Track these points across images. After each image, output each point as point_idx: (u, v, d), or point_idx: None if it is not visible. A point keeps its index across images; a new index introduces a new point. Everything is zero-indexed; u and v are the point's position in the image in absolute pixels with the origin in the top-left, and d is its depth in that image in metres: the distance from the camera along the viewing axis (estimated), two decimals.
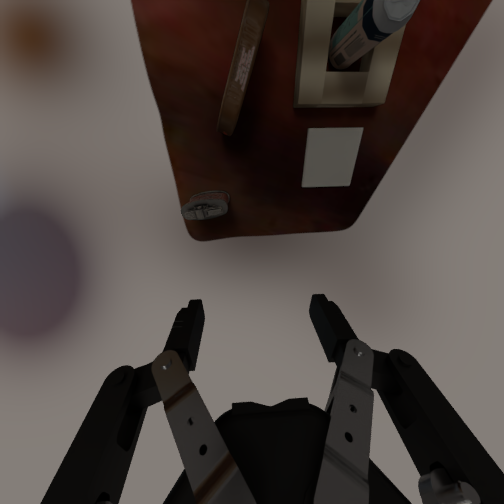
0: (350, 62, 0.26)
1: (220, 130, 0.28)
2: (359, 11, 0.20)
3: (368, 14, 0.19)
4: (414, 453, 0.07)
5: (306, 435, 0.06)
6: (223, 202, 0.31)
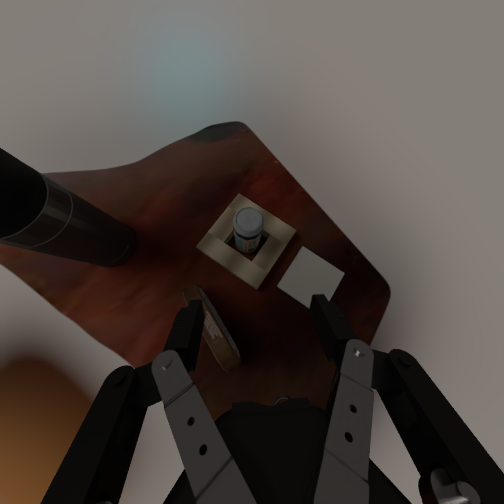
0: (257, 244, 0.35)
1: (231, 369, 0.28)
2: (238, 238, 0.30)
3: (244, 237, 0.28)
4: (414, 453, 0.07)
5: (306, 435, 0.06)
6: None
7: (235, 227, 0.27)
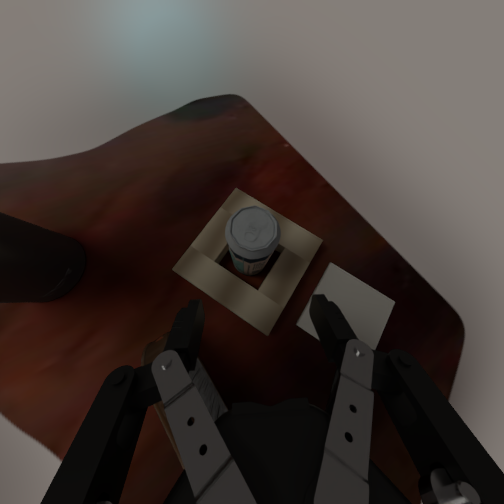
0: None
1: None
2: (236, 259, 0.18)
3: (246, 259, 0.16)
4: (414, 453, 0.07)
5: (306, 435, 0.06)
6: None
7: (230, 243, 0.15)
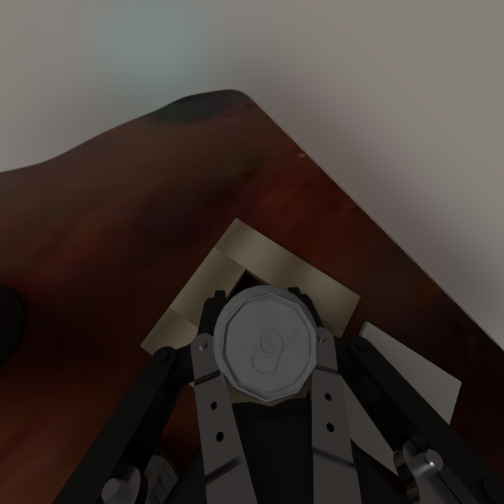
0: None
1: None
2: None
3: None
4: (383, 430, 0.08)
5: (306, 435, 0.06)
6: None
7: (222, 368, 0.08)
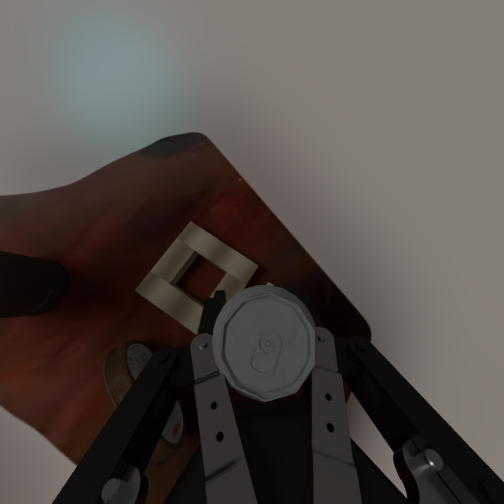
0: None
1: (166, 459, 0.22)
2: None
3: None
4: (383, 430, 0.08)
5: (306, 435, 0.06)
6: None
7: (221, 368, 0.08)
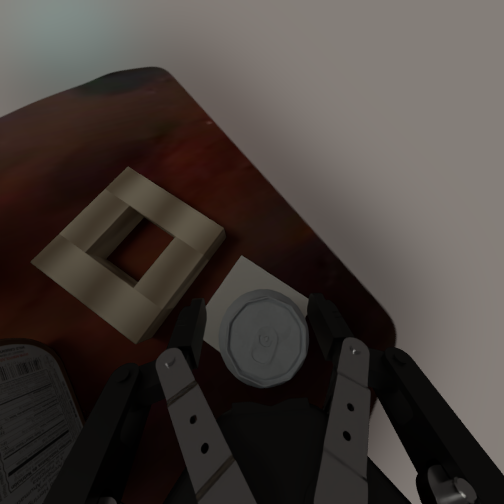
0: None
1: None
2: None
3: None
4: (411, 450, 0.07)
5: (306, 435, 0.06)
6: None
7: (226, 360, 0.09)
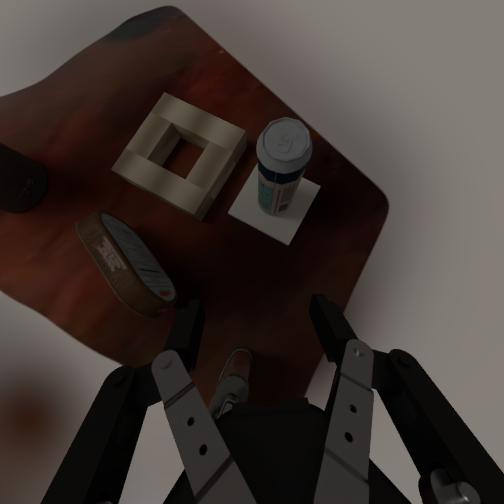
0: (292, 197, 0.23)
1: (154, 314, 0.20)
2: (267, 184, 0.18)
3: (278, 177, 0.16)
4: (414, 453, 0.07)
5: (306, 435, 0.06)
6: (229, 380, 0.17)
7: (263, 159, 0.15)
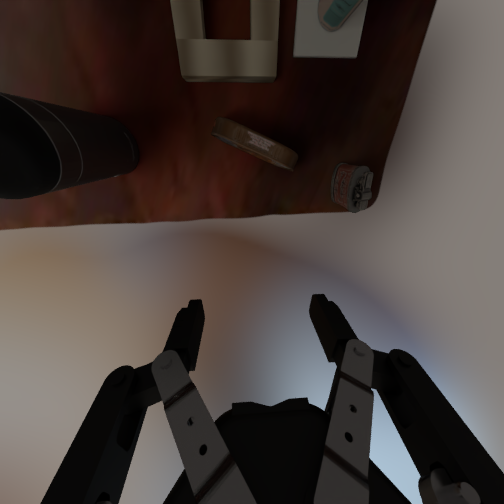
0: None
1: None
2: None
3: None
4: (414, 453, 0.07)
5: (306, 435, 0.06)
6: (357, 170, 0.30)
7: None
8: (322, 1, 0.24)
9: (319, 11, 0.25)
